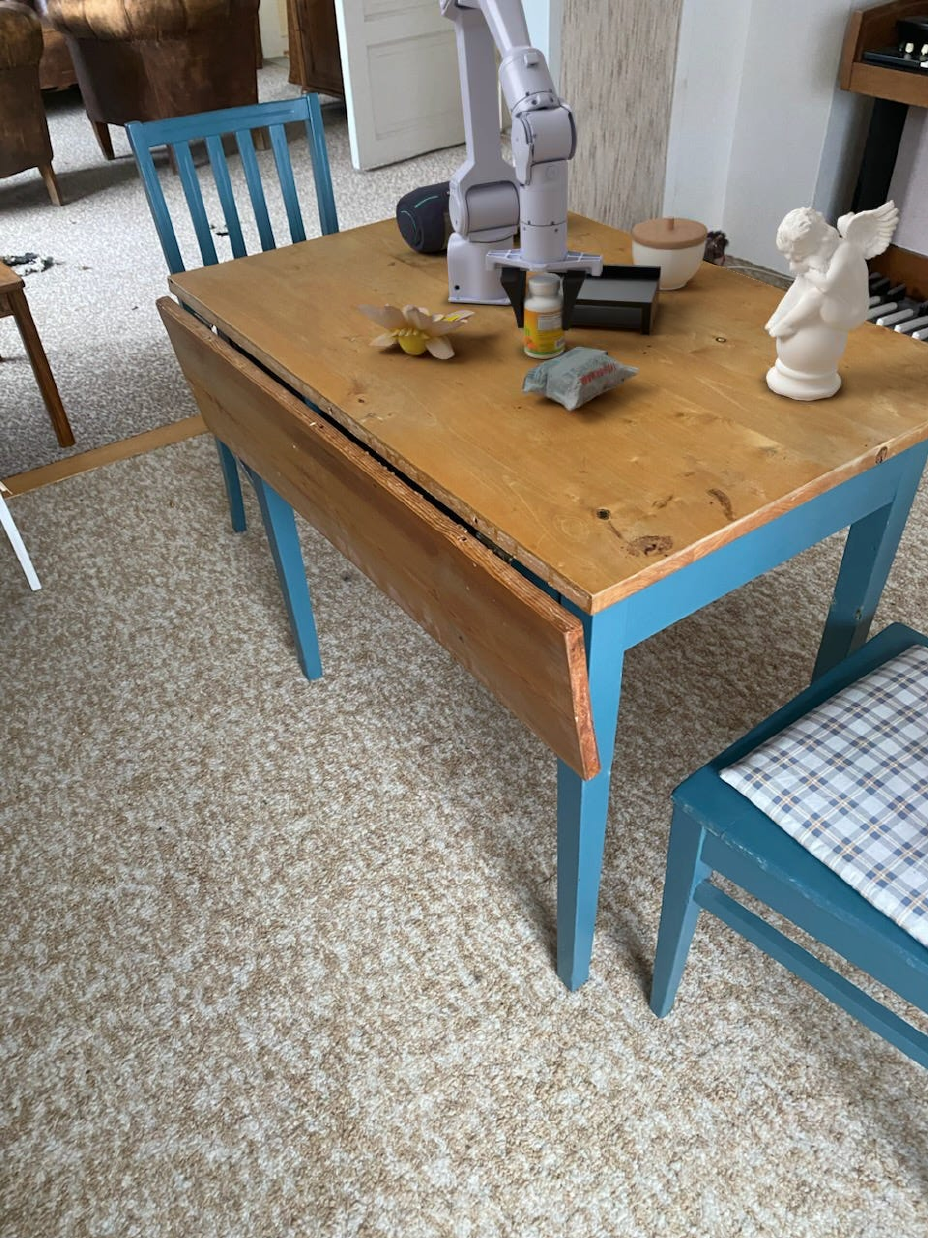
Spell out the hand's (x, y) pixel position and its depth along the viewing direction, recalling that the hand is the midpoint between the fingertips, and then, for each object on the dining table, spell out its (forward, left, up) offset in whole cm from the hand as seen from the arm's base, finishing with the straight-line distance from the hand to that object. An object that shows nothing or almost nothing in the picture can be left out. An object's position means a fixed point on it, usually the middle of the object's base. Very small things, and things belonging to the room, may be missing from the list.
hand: (544, 326), depth 124 cm
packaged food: (+7, -12, -4) cm, 14 cm away
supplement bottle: (0, 0, -4) cm, 4 cm away
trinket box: (+13, +26, -4) cm, 29 cm away
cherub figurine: (+34, -3, -4) cm, 34 cm away
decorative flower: (-16, -2, -4) cm, 17 cm away
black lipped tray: (+5, +12, -3) cm, 13 cm away
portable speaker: (-21, +41, -4) cm, 46 cm away
